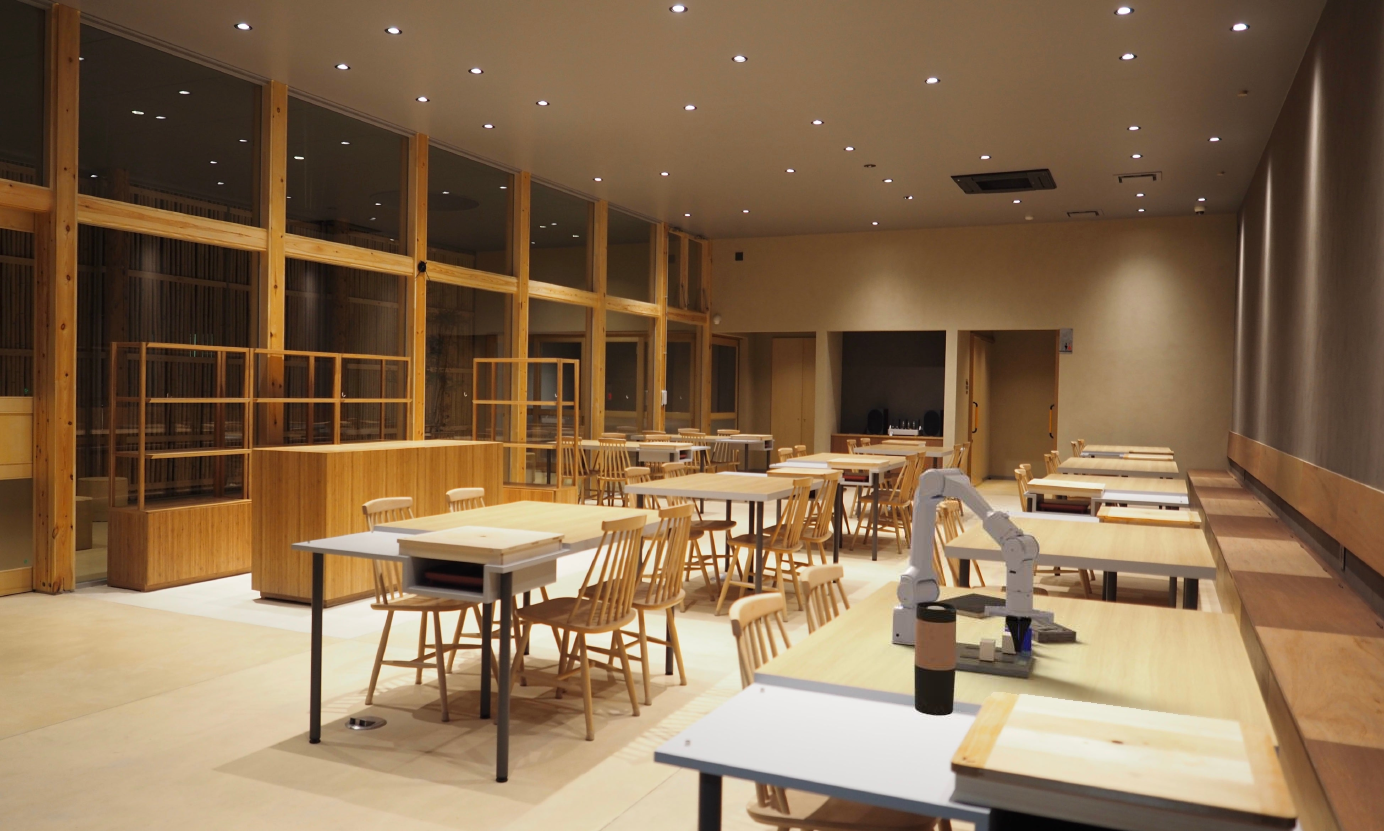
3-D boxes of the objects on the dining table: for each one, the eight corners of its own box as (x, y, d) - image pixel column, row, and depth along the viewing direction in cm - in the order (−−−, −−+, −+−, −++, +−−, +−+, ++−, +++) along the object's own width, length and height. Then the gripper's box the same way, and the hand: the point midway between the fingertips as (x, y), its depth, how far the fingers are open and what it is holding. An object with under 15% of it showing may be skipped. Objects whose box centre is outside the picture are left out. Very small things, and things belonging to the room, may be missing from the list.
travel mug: (908, 703, 189) (910, 601, 189) (946, 703, 190) (948, 601, 190) (920, 716, 182) (923, 610, 181) (960, 716, 182) (963, 610, 182)
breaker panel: (941, 667, 216) (942, 660, 215) (953, 648, 233) (953, 641, 233) (1027, 678, 209) (1027, 670, 208) (1032, 657, 226) (1033, 650, 226)
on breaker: (1001, 652, 223) (1002, 635, 223) (1003, 648, 227) (1003, 631, 227) (1015, 653, 222) (1015, 636, 222) (1016, 649, 226) (1017, 632, 226)
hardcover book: (1020, 609, 282) (1020, 601, 282) (978, 620, 266) (978, 612, 266) (971, 600, 294) (971, 592, 294) (928, 610, 278) (928, 602, 278)
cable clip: (1004, 640, 243) (1005, 616, 243) (1023, 641, 242) (1024, 617, 242) (1011, 652, 231) (1012, 627, 231) (1031, 653, 230) (1031, 628, 230)
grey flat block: (1039, 627, 259) (1040, 615, 259) (1077, 643, 242) (1077, 631, 242) (1003, 627, 257) (1003, 616, 257) (1038, 644, 240) (1038, 631, 240)
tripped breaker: (979, 659, 217) (979, 641, 217) (981, 655, 220) (981, 637, 220) (993, 661, 216) (993, 643, 215) (995, 656, 219) (995, 639, 219)
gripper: (983, 590, 214) (982, 651, 214) (1053, 596, 209) (1052, 659, 209) (987, 584, 221) (985, 644, 221) (1055, 590, 215) (1053, 651, 215)
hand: (1018, 651), depth 215 cm, fingers closed
